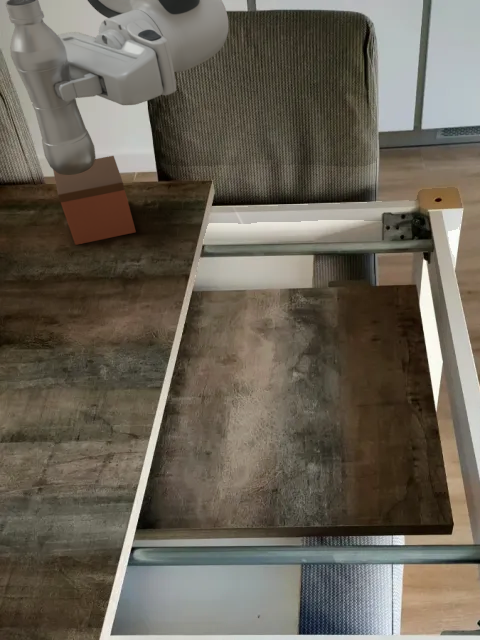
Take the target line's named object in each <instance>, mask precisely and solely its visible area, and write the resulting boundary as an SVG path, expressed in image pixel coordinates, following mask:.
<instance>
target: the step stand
mask: <svg viewBox="0 0 480 640" xmlns="http://www.w3.org/2000/svg"><path fill="white" fill-rule="evenodd" d="M52 171H53V175H54V181H55V187H56V191H57V196H58V199H59V202H60V206H61V207H62V210H63V213H64V216H65V219H66V222H67V225H68V228H69V230H70V234H71V236H72V239H73V242H74V245H75V246H77V245H82V244H88V243H92V242H97V241H101V240H106V239H110V238H116V237H121V236H124V235H125V236H126V235H128V234H129V235H130V234H134V233H136V232H137V231H136V227H135V224H134V220H133V215H132V212H131V211H132V210H131V208H130V204H129V200H128V197H127V192H126V189H125V185H124V182H123V179H122V176H121V173H120V171H119V167H118V164H117V161H116V159H115V156H114V155H108V156H104V157H103V156H102V157H98V158H95V161H94V164H93V166H92V167H91V168H90V169H88V170H87V171H84V172H82V173H79V174H74V175H62V174H59V173H57V172H56V171H55V170H53V169H52Z"/></svg>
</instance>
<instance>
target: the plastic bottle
mask: <svg viewBox="0 0 480 640" xmlns="http://www.w3.org/2000/svg"><path fill="white" fill-rule="evenodd" d="M40 4H41V3H40V2H39V0H7V1H5V7H6V10H7V13H8V15H9V16H8V18H9V21H10V23H11V24H13V26H14V29H13V32H12V35H11V39H10V45H9V51H10V58H11V61H12V63H13V65H14V67H15V69H16V72H17V73H18V76H19V78H20V79H21V81H22V84H23V86H24V88H25V90H26V92H27V95H28V98H29V100H30V102H31V103H32V105H31V106H32V108H33V110H34V112H35V113H34V114H35V117H36V120H37V124H38V128H39V131H40V136H41V145H42V149H43V153H44V154H43V155H44V157H45V160H46V161H47V163H48V165H49V167H50V168H51V169H52V171H53V170H55V171H56V172H57V173H59V174H62V175H74V174H79V173H82V172H84V171H87V170H88V169H90V168H91V167H92V166H93V164H94V161H95V159H97V157H96V148H95V144H94V142H93V140H92V139H93V138H92V137H91V135H90V133H89V131H88V129H87V127H86V125H85V122H84V119H83V117H82V114H81V112H80V108H79V107H78V102H77V98H75V99H73V100H70V101H64V100H62V99H60V98H58V97H57V94H56V93H57V92H56V91H55V88H54V87H55V84H56V83H60V82H61V81H64V80H67V81H71V77H70V71H69V65H68V58H67V53H66V48H65V46H64V44H63V42H62V41H61V39H60V37H59V36H58V35H59V34H57V33H56V32H55V31H54V30H53V29H52V28H51V27H50V26H49V25H48V24H47V23H46V22H44V18H45V14H44V11H43V10H42V8H41V5H40Z"/></svg>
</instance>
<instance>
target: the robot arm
mask: <svg viewBox="0 0 480 640" xmlns="http://www.w3.org/2000/svg"><path fill="white" fill-rule="evenodd" d="M87 2H88V3H89V4H90V5H91V7H92V8H93V9H94V10H95V11H97V13H99V14H100V15H102V16H103V17H105V18H106V19H103V21H102V22H101V23H100V24H99V27H98V33H97V35H96V37H95V36H92V35H89V34H86V33H82V32H79V31H70V32H69V31H68V32H64V33H59V34H57V35H58V36H59V37H60V39H61V41H62V42H63V44H64V46H65V48H66V53H67V58H68V65H69V71H70V77H71V81H67V80H64V81H61V82H60V83H56V84H55V87H54V88H55V91H56V92H57V93H56V94H57V97H58V98H60V99H62V100H64V101H70V100H73V99H81V98H92V97H96V96H98V97H100V98H103V99H105V100H108V101H111V102H113V103H116V104H119V105H121V106H134V105H135V106H136V105H139V104H142V103H145V102H147V101H150V100H153V99H156V98H157V97H160V96H161V95H162V96H169V95H172V94H174V93H176V92H177V82H176V75H175V74H176V73H182V72H186V71H188V70H191V69H193V68H195V67H197V66H199V65H201V64H203V63H205V62H206V61H208V60H210V59H211V58H213V57H214V56H215V55H216V54H218V53H219V52H220V51H221V50H222V49H223V47H224V46H225V43H226V42H227V39H228V34H229V17H228V13H227V12H228V11H227V9H226V5H225V3H224V2H223V0H87Z"/></svg>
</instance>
